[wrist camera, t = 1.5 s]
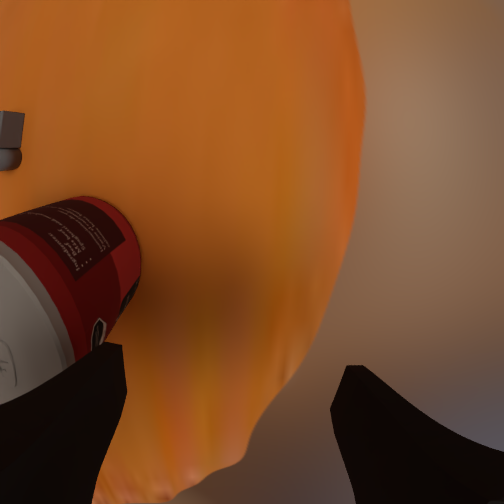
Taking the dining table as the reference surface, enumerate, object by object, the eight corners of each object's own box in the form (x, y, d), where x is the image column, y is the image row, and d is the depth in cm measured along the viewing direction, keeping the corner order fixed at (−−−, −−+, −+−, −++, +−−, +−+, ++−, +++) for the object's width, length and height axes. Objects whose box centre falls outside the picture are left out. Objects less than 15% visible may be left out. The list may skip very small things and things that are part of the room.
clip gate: (38, 353, 20) (24, 369, 18) (24, 349, 20) (10, 364, 18) (26, 113, 15) (5, 110, 13) (11, 115, 15) (-10, 112, 13)
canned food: (69, 317, 20) (-10, 414, 9) (32, 212, 17) (-85, 262, 7) (161, 299, 20) (108, 423, 9) (125, 179, 17) (11, 207, 7)
